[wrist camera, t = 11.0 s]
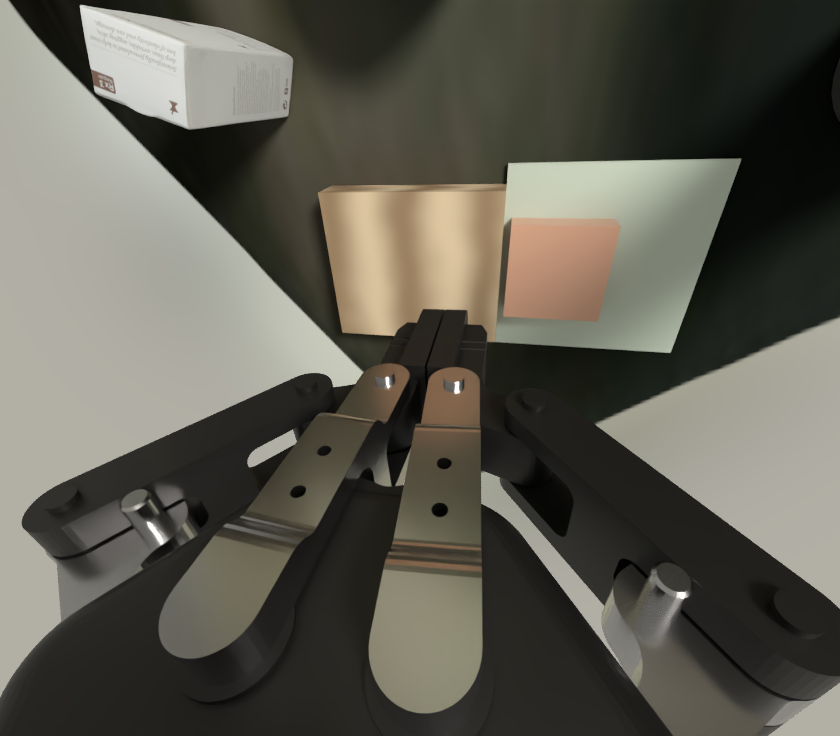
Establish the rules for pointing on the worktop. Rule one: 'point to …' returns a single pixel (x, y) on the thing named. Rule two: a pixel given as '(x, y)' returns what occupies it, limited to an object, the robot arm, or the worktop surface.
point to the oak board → (414, 252)
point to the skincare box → (185, 69)
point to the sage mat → (624, 243)
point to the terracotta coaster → (559, 267)
